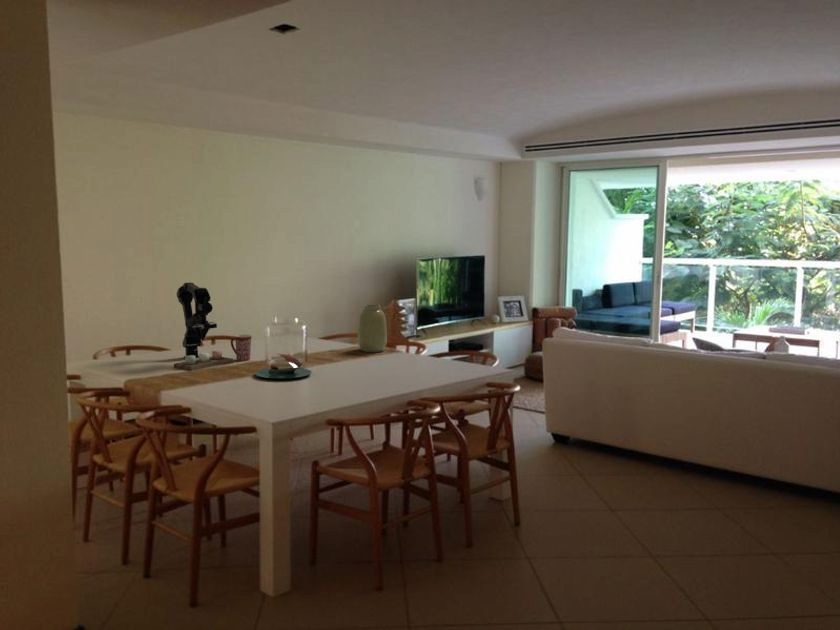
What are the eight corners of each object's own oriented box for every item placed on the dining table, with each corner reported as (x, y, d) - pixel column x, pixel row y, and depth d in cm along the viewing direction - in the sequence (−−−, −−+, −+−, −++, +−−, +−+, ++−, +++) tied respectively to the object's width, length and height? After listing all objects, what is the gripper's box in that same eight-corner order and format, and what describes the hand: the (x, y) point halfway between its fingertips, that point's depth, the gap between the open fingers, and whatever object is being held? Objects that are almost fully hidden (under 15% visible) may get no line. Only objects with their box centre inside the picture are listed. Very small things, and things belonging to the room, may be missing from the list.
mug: (255, 359, 407) (255, 335, 406) (244, 361, 399) (244, 337, 398) (237, 357, 413) (237, 333, 411) (226, 359, 405) (226, 335, 403)
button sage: (183, 363, 381) (183, 356, 380) (191, 362, 385) (190, 355, 384) (190, 365, 378) (189, 357, 378) (197, 363, 382) (197, 356, 382)
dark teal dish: (312, 381, 354) (312, 358, 353) (252, 382, 350) (252, 359, 348) (311, 369, 382) (311, 348, 380) (256, 370, 377) (255, 349, 376)
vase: (385, 353, 433) (386, 307, 430) (356, 352, 433) (356, 307, 430) (387, 348, 450) (387, 304, 447) (359, 347, 451) (359, 303, 447)
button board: (173, 367, 381) (173, 363, 381) (215, 359, 405) (215, 355, 405) (192, 370, 374) (192, 366, 374) (233, 362, 397) (233, 358, 397)
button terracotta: (210, 358, 396) (210, 351, 395) (217, 357, 400) (217, 350, 400) (216, 359, 393) (216, 352, 393) (223, 358, 397) (223, 351, 397)
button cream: (197, 361, 388) (197, 353, 388) (204, 359, 392) (204, 352, 392) (203, 362, 386) (203, 354, 385) (211, 361, 390) (210, 353, 389)
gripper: (176, 311, 392) (177, 340, 393) (200, 314, 382) (201, 343, 384) (193, 309, 401) (194, 337, 403) (217, 312, 391) (217, 341, 393)
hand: (201, 340), depth 395 cm, fingers closed
